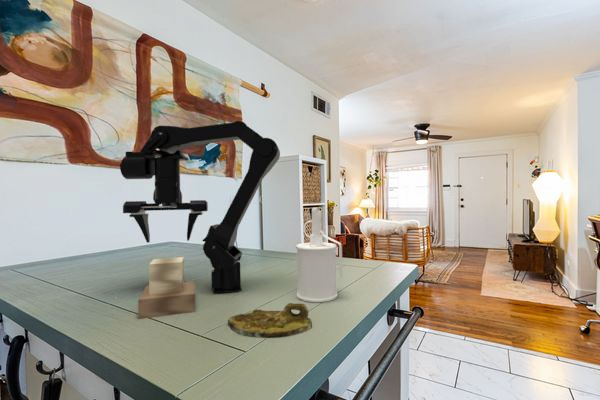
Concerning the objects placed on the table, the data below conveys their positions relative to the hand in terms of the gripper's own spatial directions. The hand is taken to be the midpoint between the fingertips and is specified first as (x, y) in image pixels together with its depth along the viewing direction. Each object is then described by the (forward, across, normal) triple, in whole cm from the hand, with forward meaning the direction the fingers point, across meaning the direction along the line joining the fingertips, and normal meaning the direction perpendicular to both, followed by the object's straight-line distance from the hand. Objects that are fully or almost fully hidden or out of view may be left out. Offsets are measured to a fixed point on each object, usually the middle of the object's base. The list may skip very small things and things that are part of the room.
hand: (168, 241), depth 75 cm
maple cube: (+8, -2, +13) cm, 15 cm away
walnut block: (+12, -2, +13) cm, 18 cm away
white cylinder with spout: (+12, -34, +16) cm, 40 cm away
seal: (+13, -21, +28) cm, 37 cm away
